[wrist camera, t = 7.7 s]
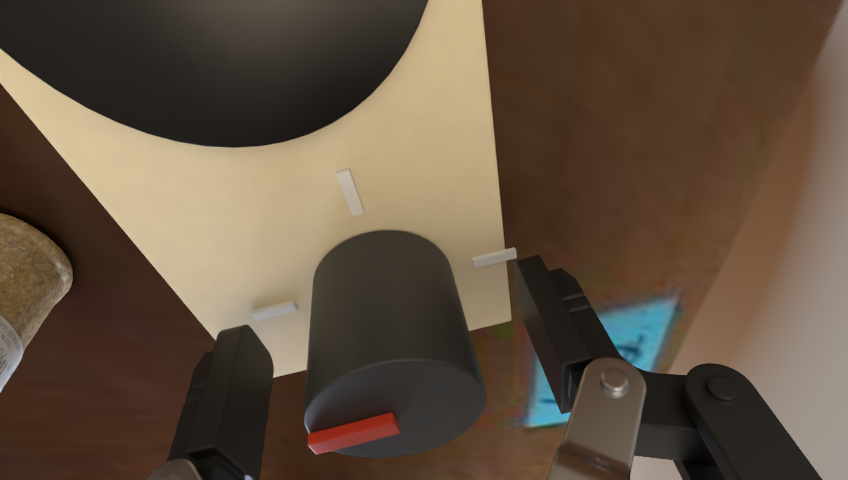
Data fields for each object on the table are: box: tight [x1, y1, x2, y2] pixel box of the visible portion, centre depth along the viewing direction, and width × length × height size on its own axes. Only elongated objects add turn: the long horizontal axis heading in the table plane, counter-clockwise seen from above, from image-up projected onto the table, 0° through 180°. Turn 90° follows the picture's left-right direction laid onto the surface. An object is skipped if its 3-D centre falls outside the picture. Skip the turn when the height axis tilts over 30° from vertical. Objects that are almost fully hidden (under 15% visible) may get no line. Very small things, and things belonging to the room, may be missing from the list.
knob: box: [303, 230, 486, 458], centre depth 12 cm, size 4×4×5 cm
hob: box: [0, 0, 517, 378], centre depth 12 cm, size 19×10×3 cm, turn 11°
